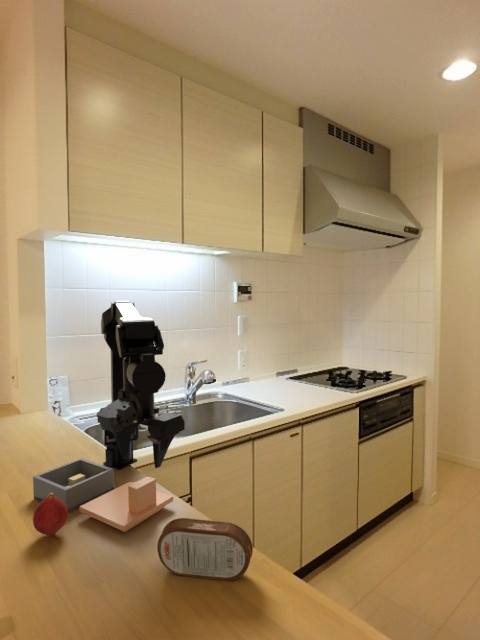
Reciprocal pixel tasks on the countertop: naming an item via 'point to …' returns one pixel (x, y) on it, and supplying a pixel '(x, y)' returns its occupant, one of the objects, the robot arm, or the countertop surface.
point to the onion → (50, 515)
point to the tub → (74, 483)
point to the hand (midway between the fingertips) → (140, 462)
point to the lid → (128, 504)
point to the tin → (205, 549)
